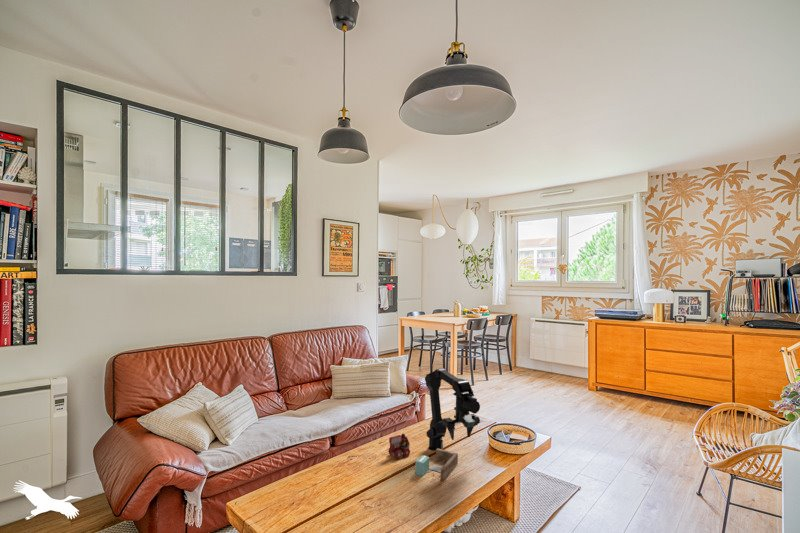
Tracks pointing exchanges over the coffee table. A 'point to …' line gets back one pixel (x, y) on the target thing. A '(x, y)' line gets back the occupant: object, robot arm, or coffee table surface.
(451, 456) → the l-shaped wooden block
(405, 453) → the toy fire truck
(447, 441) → the coffee table surface
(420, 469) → the teal and white block
